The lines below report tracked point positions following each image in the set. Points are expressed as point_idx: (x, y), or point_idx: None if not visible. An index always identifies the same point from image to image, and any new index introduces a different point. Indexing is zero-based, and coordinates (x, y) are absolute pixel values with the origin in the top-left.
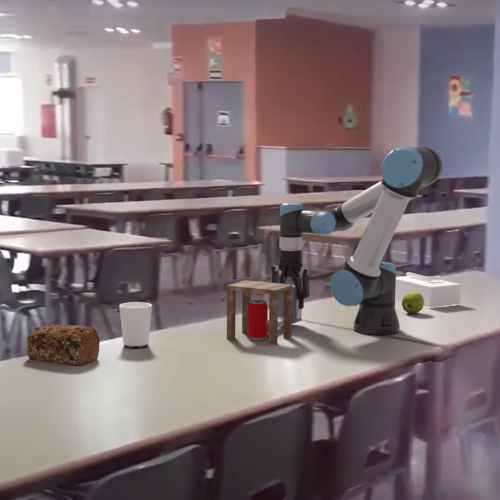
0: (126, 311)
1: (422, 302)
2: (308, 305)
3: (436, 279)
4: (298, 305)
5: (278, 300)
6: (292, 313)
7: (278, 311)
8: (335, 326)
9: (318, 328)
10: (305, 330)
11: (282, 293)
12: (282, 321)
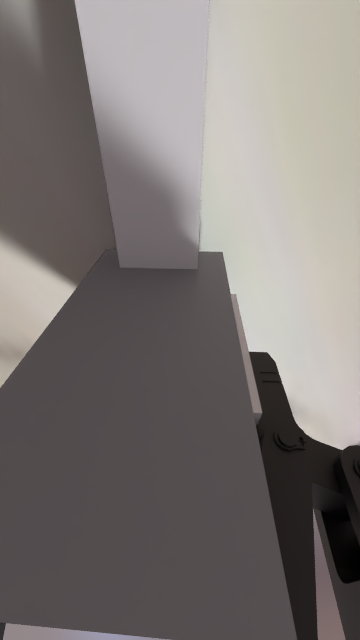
0: None
1: None
2: None
3: None
4: None
5: (234, 358)
6: (92, 282)
7: (221, 287)
8: (9, 354)
9: (21, 296)
10: (24, 220)
11: (172, 450)
12: (95, 99)
